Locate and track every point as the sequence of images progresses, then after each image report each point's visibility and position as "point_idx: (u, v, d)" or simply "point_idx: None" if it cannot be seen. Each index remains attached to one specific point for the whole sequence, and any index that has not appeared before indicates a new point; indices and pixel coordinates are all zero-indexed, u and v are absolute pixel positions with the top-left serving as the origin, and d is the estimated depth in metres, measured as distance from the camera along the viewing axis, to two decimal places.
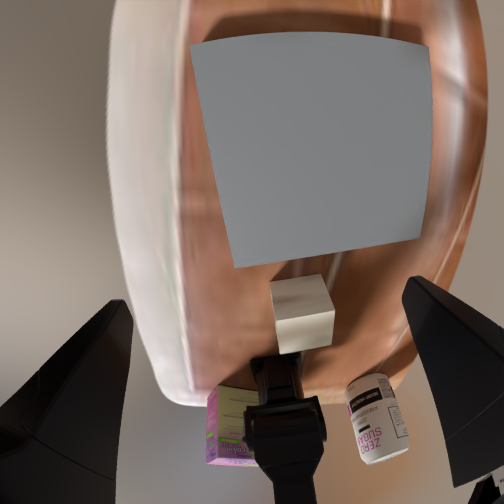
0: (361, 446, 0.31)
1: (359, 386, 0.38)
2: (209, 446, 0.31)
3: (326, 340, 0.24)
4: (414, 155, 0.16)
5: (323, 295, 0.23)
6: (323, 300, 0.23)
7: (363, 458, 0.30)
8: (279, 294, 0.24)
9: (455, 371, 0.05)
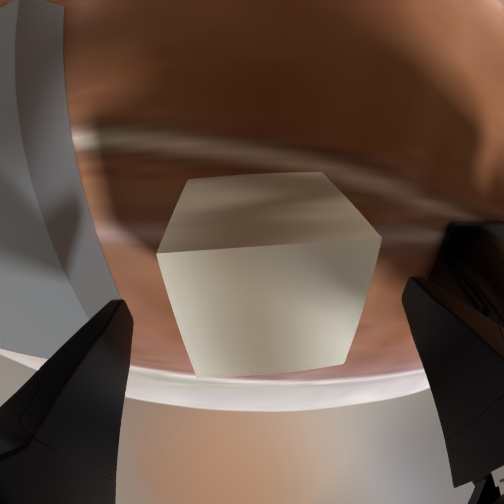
0: None
1: None
2: None
3: (343, 260, 0.06)
4: None
5: None
6: None
7: None
8: None
9: (455, 371, 0.05)
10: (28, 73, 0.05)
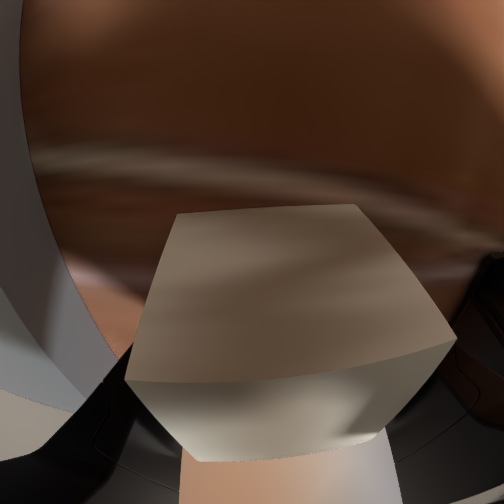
0: None
1: None
2: None
3: (403, 370, 0.04)
4: None
5: None
6: None
7: None
8: None
9: None
10: None
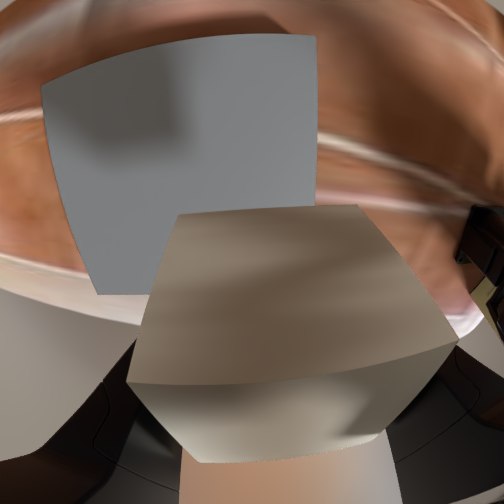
0: None
1: None
2: None
3: (406, 372, 0.03)
4: (170, 72, 0.11)
5: None
6: None
7: None
8: None
9: None
10: None
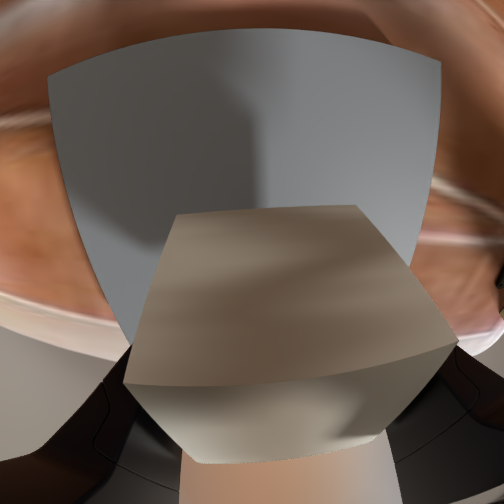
0: None
1: None
2: None
3: (405, 373, 0.03)
4: (270, 72, 0.08)
5: None
6: None
7: None
8: None
9: None
10: None
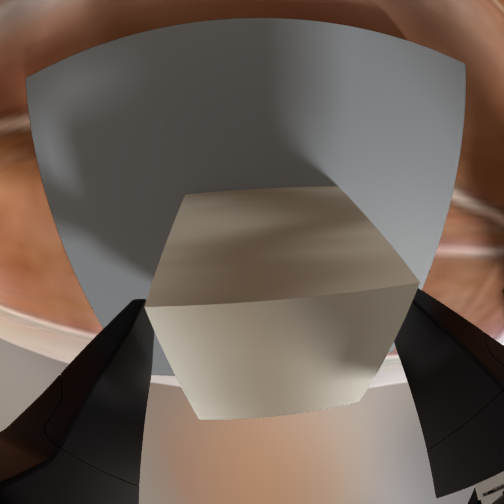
0: None
1: None
2: None
3: (374, 309, 0.05)
4: (279, 69, 0.06)
5: None
6: None
7: None
8: None
9: (436, 379, 0.05)
10: None
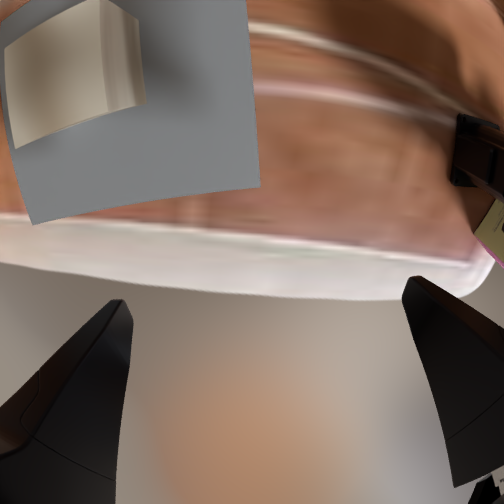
0: None
1: None
2: None
3: (78, 14, 0.05)
4: None
5: None
6: None
7: None
8: None
9: (455, 371, 0.05)
10: None
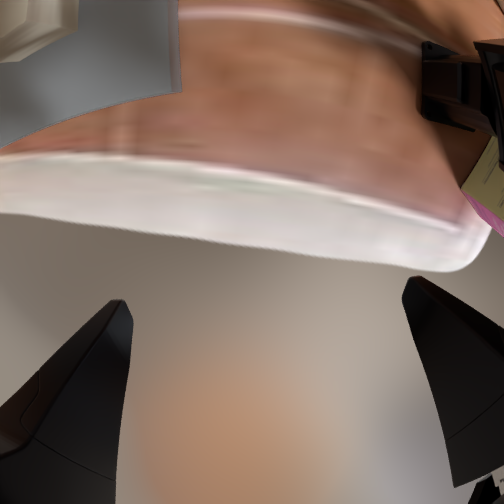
0: None
1: None
2: None
3: None
4: None
5: None
6: None
7: None
8: None
9: (455, 371, 0.05)
10: None
